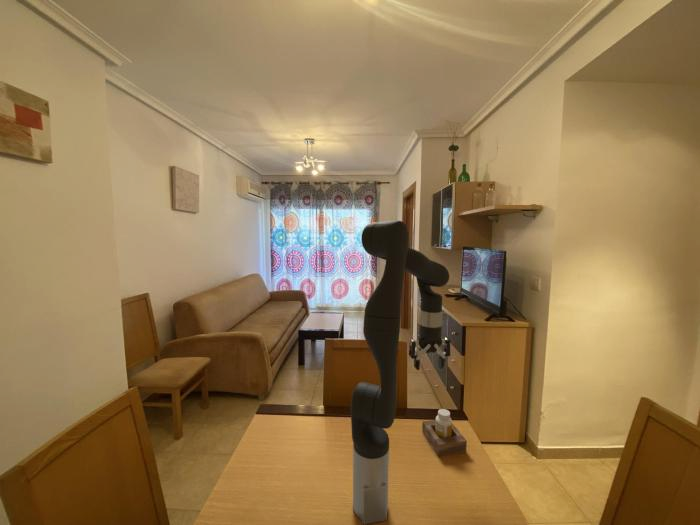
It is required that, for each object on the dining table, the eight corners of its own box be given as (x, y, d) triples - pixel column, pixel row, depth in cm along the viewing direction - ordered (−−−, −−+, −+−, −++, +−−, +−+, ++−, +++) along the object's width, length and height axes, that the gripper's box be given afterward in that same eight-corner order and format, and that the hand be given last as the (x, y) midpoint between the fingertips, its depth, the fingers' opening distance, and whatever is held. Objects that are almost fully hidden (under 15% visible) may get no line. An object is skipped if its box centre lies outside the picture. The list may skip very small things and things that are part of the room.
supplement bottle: (449, 433, 105) (450, 407, 104) (452, 444, 100) (454, 417, 99) (433, 432, 106) (434, 407, 105) (436, 443, 100) (437, 416, 99)
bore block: (466, 452, 98) (466, 440, 98) (438, 456, 96) (438, 444, 96) (447, 428, 110) (448, 418, 109) (422, 431, 108) (422, 421, 107)
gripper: (414, 327, 97) (413, 375, 99) (455, 325, 99) (453, 372, 101) (406, 320, 104) (405, 365, 106) (444, 319, 107) (443, 362, 108)
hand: (429, 368), depth 104 cm, fingers open, 8 cm apart
